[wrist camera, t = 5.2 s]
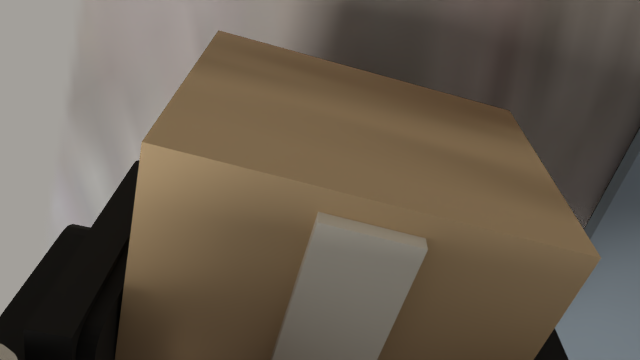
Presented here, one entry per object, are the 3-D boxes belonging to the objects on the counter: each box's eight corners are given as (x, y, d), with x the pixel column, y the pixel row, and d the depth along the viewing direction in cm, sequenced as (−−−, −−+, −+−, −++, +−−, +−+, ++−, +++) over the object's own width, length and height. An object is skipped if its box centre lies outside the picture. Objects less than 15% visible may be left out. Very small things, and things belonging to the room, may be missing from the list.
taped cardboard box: (218, 30, 9) (135, 151, 6) (509, 110, 10) (608, 269, 6) (163, 334, 13) (90, 531, 9) (379, 381, 13) (392, 585, 9)
